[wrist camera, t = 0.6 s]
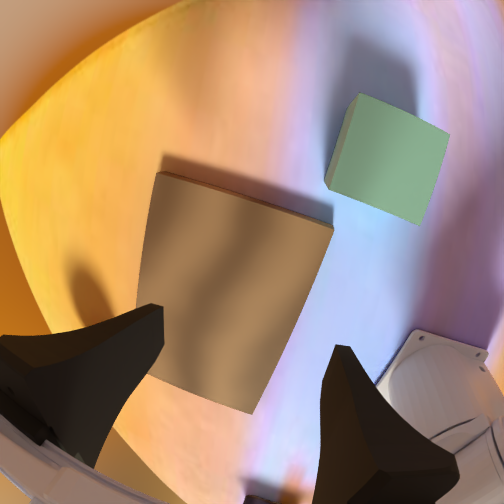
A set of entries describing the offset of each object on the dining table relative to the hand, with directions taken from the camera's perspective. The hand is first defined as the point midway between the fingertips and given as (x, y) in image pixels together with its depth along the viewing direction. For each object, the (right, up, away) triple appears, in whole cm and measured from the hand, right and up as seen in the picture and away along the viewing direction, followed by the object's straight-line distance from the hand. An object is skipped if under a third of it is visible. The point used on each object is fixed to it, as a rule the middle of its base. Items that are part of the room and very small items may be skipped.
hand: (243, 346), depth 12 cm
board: (-3, -1, +11) cm, 11 cm away
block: (+8, +10, +5) cm, 14 cm away
